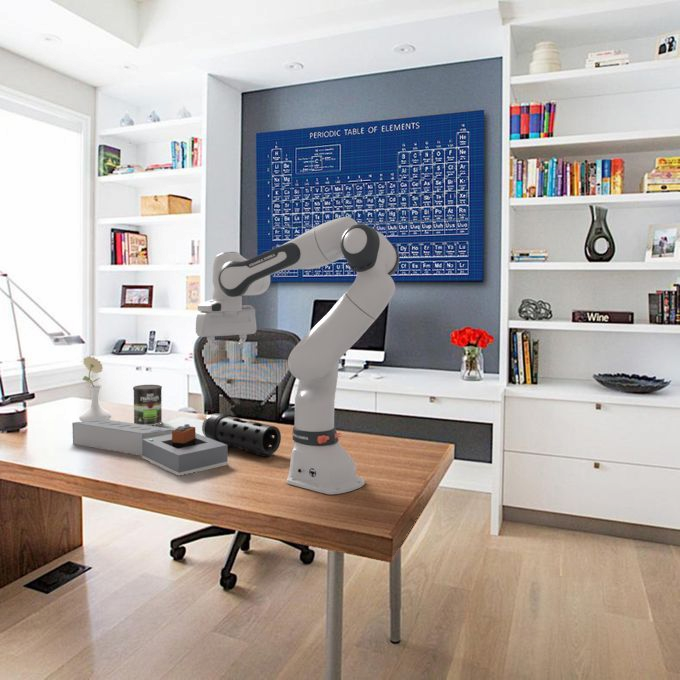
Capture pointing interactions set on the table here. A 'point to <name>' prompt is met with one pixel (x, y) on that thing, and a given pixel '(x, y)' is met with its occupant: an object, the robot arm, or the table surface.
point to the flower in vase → (94, 393)
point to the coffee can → (147, 404)
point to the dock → (185, 454)
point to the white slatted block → (115, 435)
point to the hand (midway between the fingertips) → (227, 350)
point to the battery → (183, 436)
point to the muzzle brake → (242, 434)
